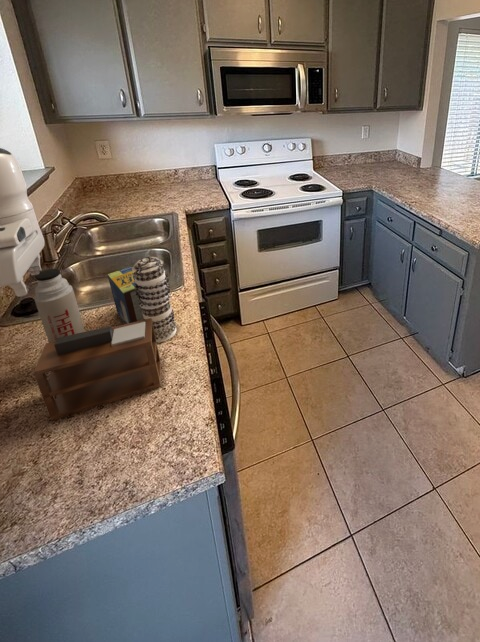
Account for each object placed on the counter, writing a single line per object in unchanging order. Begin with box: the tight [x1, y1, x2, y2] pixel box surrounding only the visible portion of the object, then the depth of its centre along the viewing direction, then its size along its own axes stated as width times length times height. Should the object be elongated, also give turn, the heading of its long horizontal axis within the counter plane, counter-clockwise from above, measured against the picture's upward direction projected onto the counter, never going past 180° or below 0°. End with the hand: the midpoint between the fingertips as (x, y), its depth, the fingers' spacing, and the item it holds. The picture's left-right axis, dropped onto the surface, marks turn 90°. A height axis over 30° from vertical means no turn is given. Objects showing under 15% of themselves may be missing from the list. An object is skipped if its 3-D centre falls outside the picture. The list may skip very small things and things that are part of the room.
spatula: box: [54, 322, 145, 355], centre depth 85 cm, size 18×6×3 cm, turn 114°
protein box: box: [107, 265, 143, 325], centre depth 114 cm, size 10×15×16 cm
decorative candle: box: [132, 256, 177, 344], centre depth 105 cm, size 9×9×25 cm
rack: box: [33, 318, 162, 421], centre depth 87 cm, size 23×10×14 cm, turn 114°
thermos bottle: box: [33, 268, 86, 343], centre depth 93 cm, size 8×8×28 cm
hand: (30, 283), depth 78 cm, fingers open, 8 cm apart
